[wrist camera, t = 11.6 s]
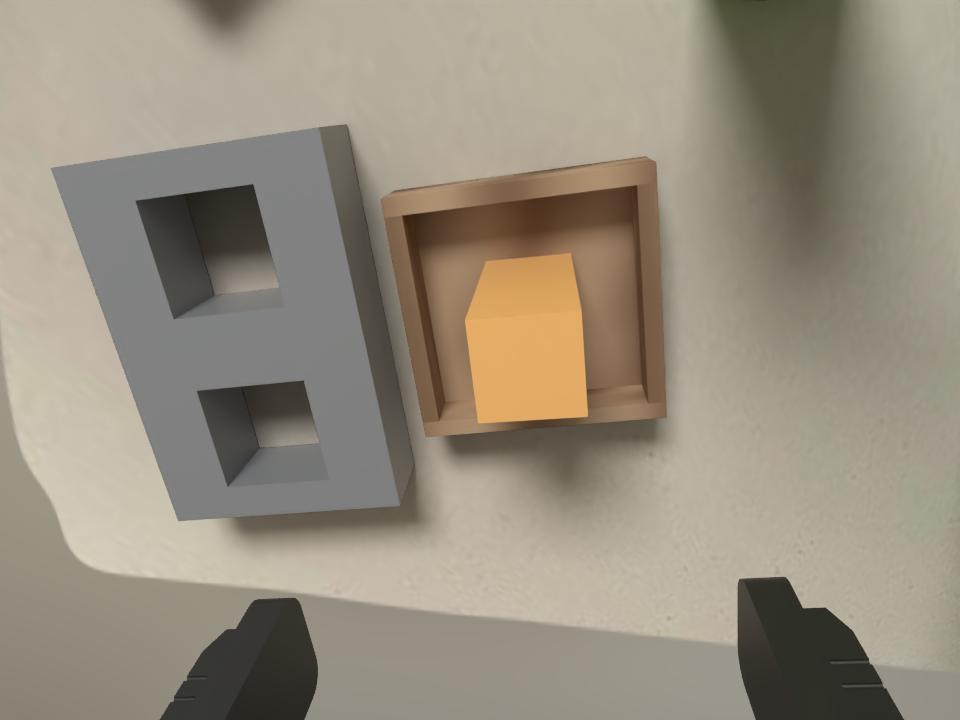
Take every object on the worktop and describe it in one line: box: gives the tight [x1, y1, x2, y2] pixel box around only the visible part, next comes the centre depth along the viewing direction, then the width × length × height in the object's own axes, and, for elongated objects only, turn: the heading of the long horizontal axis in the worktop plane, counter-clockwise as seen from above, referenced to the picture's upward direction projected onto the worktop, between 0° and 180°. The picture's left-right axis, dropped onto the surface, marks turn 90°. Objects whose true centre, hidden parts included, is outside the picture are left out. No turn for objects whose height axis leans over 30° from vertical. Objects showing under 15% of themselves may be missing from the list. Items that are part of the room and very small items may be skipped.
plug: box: [465, 253, 588, 424], centre depth 27 cm, size 4×4×9 cm
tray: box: [381, 157, 667, 437], centre depth 31 cm, size 12×12×3 cm
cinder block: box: [51, 124, 415, 521], centre depth 32 cm, size 12×18×4 cm, turn 8°
